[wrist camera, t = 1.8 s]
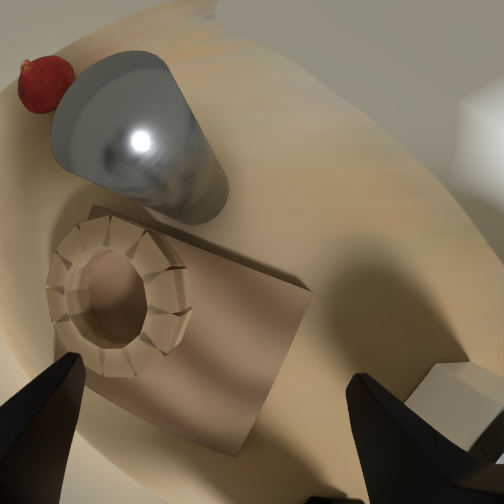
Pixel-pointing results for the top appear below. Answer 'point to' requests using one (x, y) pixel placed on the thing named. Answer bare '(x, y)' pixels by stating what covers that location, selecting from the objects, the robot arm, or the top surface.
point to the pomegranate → (44, 83)
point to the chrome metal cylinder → (139, 138)
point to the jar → (464, 407)
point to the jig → (171, 327)
